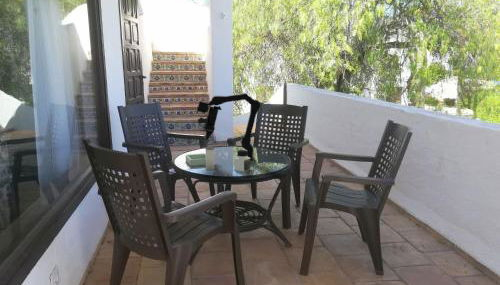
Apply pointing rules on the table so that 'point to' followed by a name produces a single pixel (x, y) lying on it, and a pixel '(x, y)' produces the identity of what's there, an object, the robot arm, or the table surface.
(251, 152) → the robot arm
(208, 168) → the canister
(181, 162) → the table surface
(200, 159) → the tote
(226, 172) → the table surface
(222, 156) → the table surface
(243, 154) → the medicine bottle
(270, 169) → the table surface
